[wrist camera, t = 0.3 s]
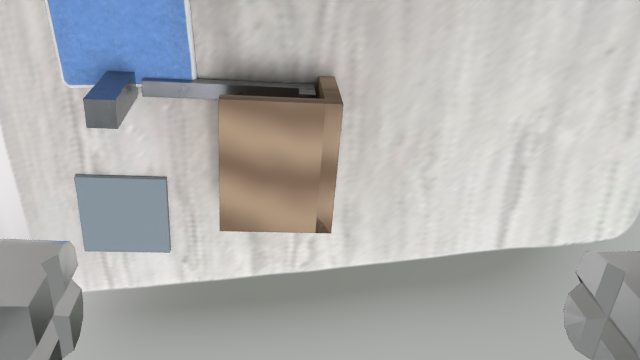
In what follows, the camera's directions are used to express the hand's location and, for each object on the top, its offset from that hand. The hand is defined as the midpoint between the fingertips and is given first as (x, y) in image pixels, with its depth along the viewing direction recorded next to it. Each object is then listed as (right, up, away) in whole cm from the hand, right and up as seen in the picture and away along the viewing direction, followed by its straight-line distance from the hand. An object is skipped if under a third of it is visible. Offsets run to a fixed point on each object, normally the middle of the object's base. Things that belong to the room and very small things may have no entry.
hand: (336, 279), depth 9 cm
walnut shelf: (-5, +6, +49) cm, 50 cm away
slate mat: (-21, -2, +52) cm, 56 cm away
